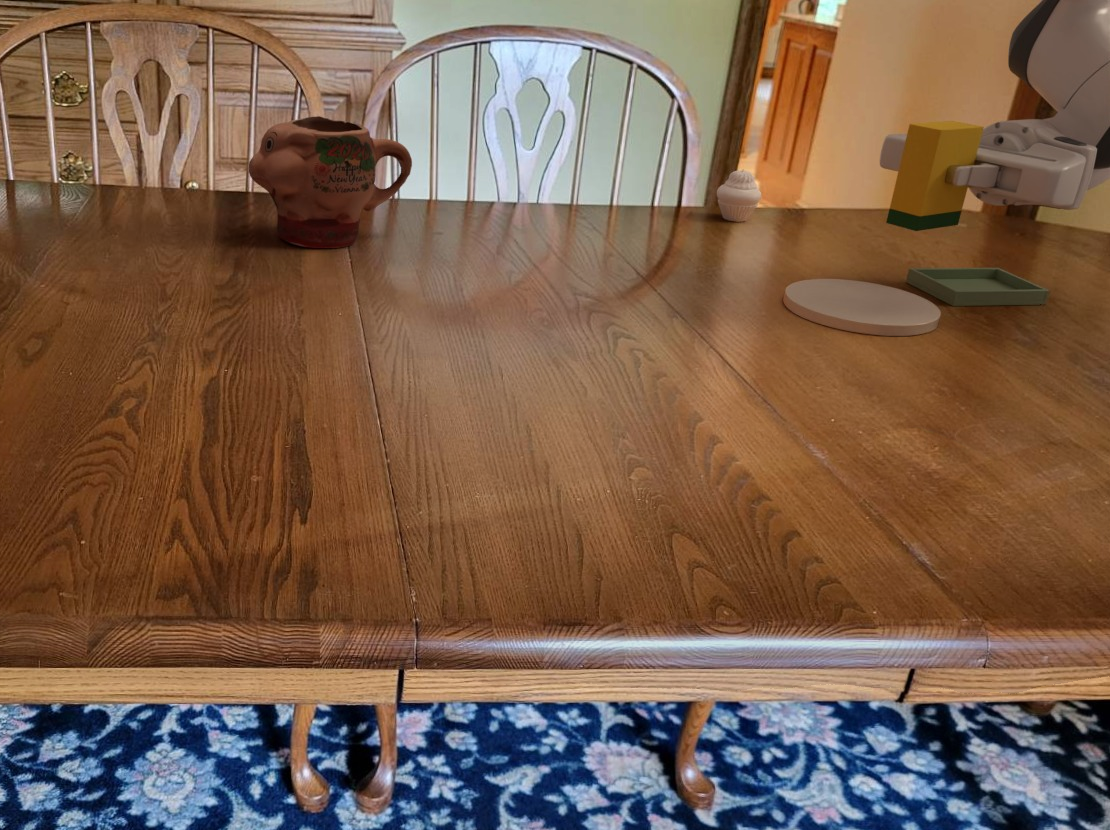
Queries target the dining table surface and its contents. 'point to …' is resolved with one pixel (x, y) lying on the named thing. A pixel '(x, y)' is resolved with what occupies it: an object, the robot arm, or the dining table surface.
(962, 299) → the dish
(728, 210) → the muffin
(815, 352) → the dining table surface
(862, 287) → the plate
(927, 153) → the sponge
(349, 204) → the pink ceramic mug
